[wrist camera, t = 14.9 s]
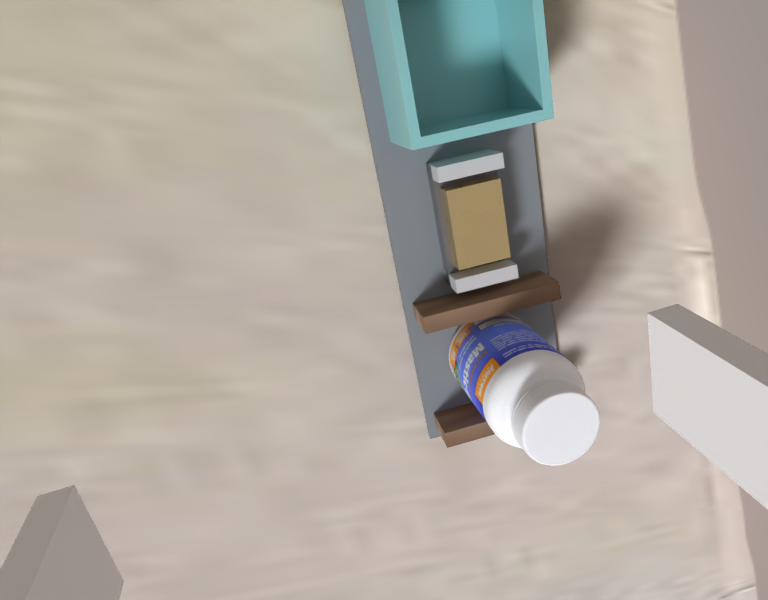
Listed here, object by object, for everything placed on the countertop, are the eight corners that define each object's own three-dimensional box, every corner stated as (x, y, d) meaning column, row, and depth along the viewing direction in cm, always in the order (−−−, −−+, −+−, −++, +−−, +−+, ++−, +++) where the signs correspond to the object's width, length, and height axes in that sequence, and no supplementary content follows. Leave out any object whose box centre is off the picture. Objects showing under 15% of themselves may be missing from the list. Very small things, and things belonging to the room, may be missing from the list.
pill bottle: (443, 316, 37) (503, 388, 28) (528, 301, 38) (614, 367, 29) (449, 397, 39) (508, 489, 30) (531, 381, 40) (613, 466, 31)
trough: (412, 303, 36) (422, 317, 34) (540, 270, 37) (559, 282, 35) (436, 426, 39) (447, 447, 37) (554, 393, 40) (572, 412, 38)
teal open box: (363, 0, 31) (382, -17, 26) (496, -26, 32) (538, -47, 27) (390, 142, 33) (412, 150, 29) (513, 114, 34) (554, 118, 29)
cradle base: (425, 163, 34) (436, 167, 32) (487, 148, 34) (502, 152, 32) (446, 282, 36) (457, 293, 34) (504, 267, 37) (518, 277, 35)
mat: (341, -6, 31) (342, -7, 31) (511, -40, 32) (514, -41, 32) (429, 435, 40) (430, 438, 40) (559, 398, 41) (562, 401, 41)
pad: (439, 187, 34) (446, 191, 32) (492, 175, 34) (500, 178, 33) (452, 264, 35) (458, 270, 34) (502, 251, 35) (510, 257, 34)
